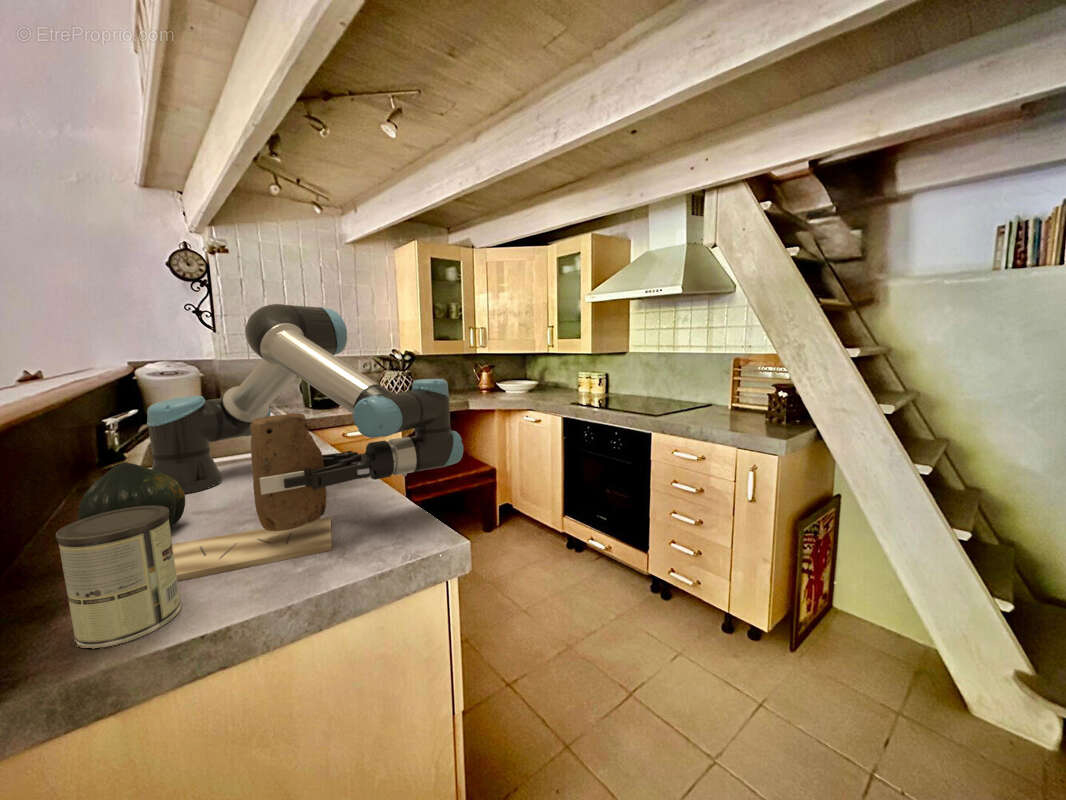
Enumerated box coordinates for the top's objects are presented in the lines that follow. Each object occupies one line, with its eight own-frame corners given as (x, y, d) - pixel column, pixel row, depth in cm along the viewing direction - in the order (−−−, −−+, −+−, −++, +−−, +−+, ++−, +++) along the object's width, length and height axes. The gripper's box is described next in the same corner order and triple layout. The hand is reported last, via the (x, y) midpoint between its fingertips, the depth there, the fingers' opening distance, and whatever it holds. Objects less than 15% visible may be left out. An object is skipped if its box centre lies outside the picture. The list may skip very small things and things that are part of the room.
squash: (150, 523, 75) (169, 448, 83) (42, 538, 71) (73, 458, 79) (189, 547, 86) (202, 479, 94) (97, 561, 82) (119, 489, 90)
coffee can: (75, 623, 56) (59, 520, 54) (177, 591, 63) (165, 499, 61) (70, 663, 49) (50, 546, 47) (185, 622, 56) (172, 518, 54)
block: (265, 538, 72) (252, 421, 70) (255, 525, 77) (243, 416, 75) (332, 519, 79) (323, 413, 77) (319, 509, 85) (310, 409, 82)
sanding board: (156, 552, 76) (155, 546, 75) (330, 521, 88) (330, 516, 87) (122, 592, 63) (122, 585, 63) (331, 550, 75) (331, 544, 75)
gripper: (408, 488, 80) (265, 519, 66) (376, 465, 96) (256, 485, 83) (406, 449, 79) (260, 472, 66) (373, 432, 96) (253, 448, 82)
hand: (258, 480), depth 74 cm, fingers closed on block, 8 cm apart
